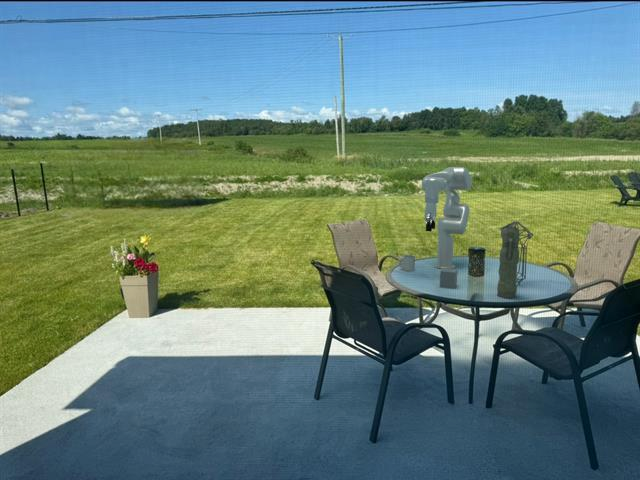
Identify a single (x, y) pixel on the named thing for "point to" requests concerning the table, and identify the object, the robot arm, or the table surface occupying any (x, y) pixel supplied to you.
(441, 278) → the trap cup
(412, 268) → the cup
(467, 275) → the table surface
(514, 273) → the tall grey column
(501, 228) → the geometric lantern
